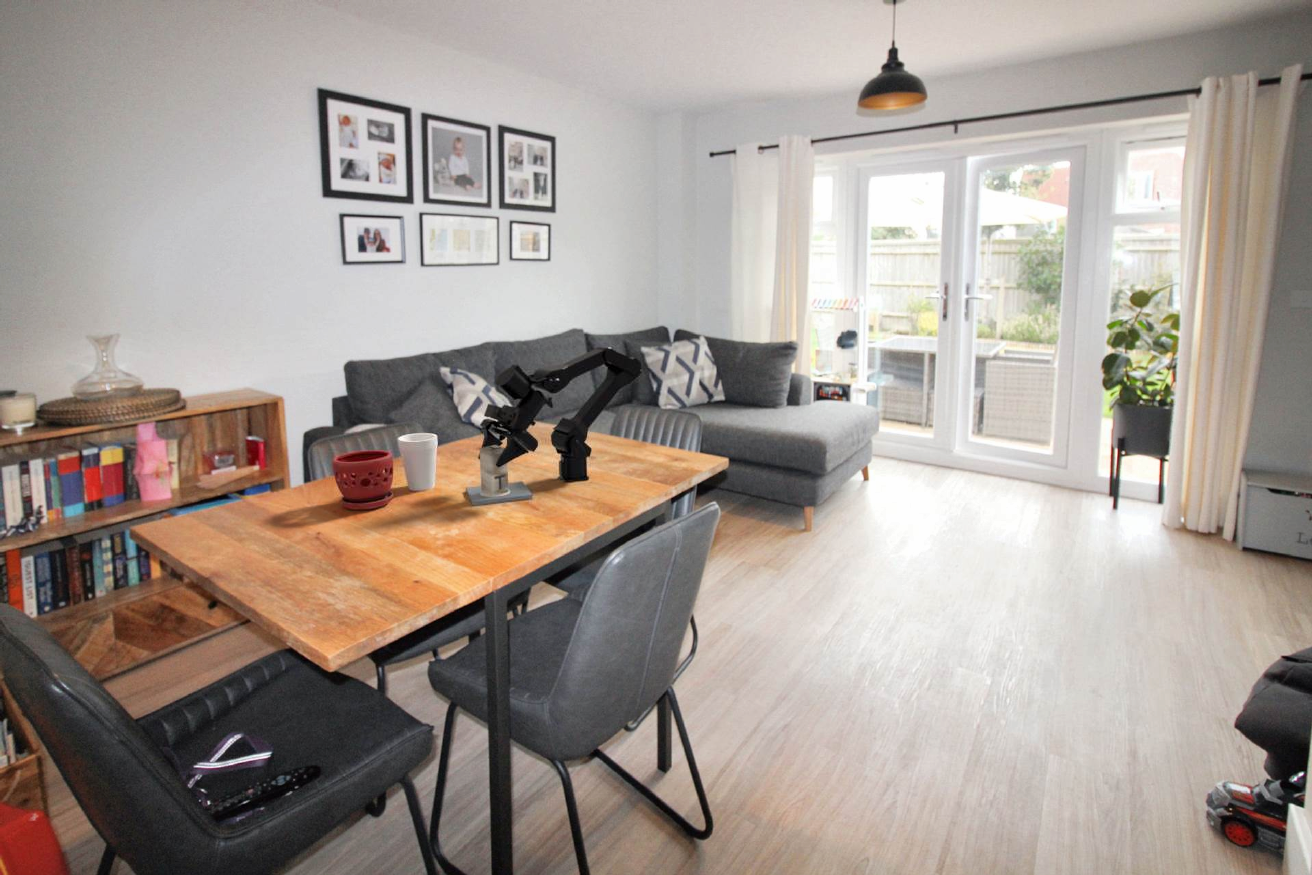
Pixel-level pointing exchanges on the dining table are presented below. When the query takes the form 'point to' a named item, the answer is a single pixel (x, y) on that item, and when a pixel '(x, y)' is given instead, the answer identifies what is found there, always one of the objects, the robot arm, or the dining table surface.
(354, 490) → the plant pot
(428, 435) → the foam cup
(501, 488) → the letter block
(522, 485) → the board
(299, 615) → the dining table surface
